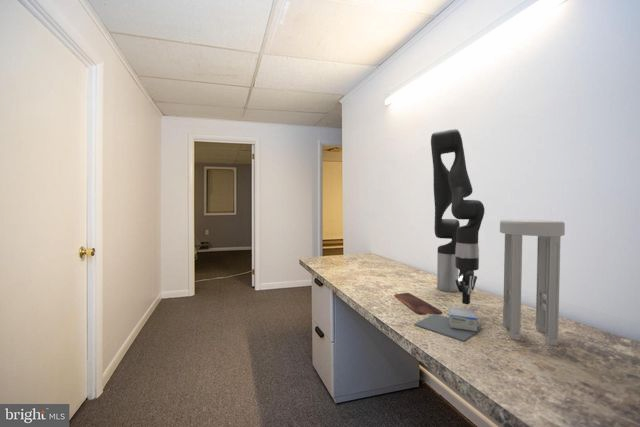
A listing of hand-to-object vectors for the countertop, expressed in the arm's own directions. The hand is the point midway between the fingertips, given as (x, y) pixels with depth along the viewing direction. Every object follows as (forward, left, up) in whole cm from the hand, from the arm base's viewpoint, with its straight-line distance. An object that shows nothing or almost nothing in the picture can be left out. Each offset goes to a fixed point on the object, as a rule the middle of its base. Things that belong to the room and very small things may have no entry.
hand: (466, 303), depth 106 cm
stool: (+2, +19, -5) cm, 20 cm away
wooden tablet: (+1, -20, -5) cm, 20 cm away
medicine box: (+6, +1, -2) cm, 7 cm away
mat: (+15, 0, -4) cm, 15 cm away
